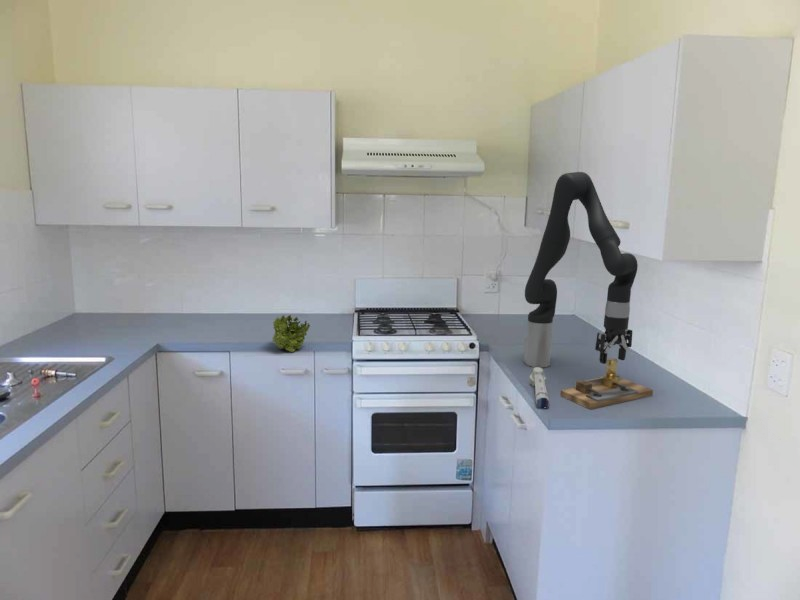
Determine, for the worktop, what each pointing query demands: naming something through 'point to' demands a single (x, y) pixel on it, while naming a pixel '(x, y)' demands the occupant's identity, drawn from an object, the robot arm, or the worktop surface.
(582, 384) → the brown block with stem
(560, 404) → the worktop surface
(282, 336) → the green bumpy lump
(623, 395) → the board
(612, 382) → the gold l-shaped piece
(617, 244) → the robot arm
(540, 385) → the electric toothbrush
